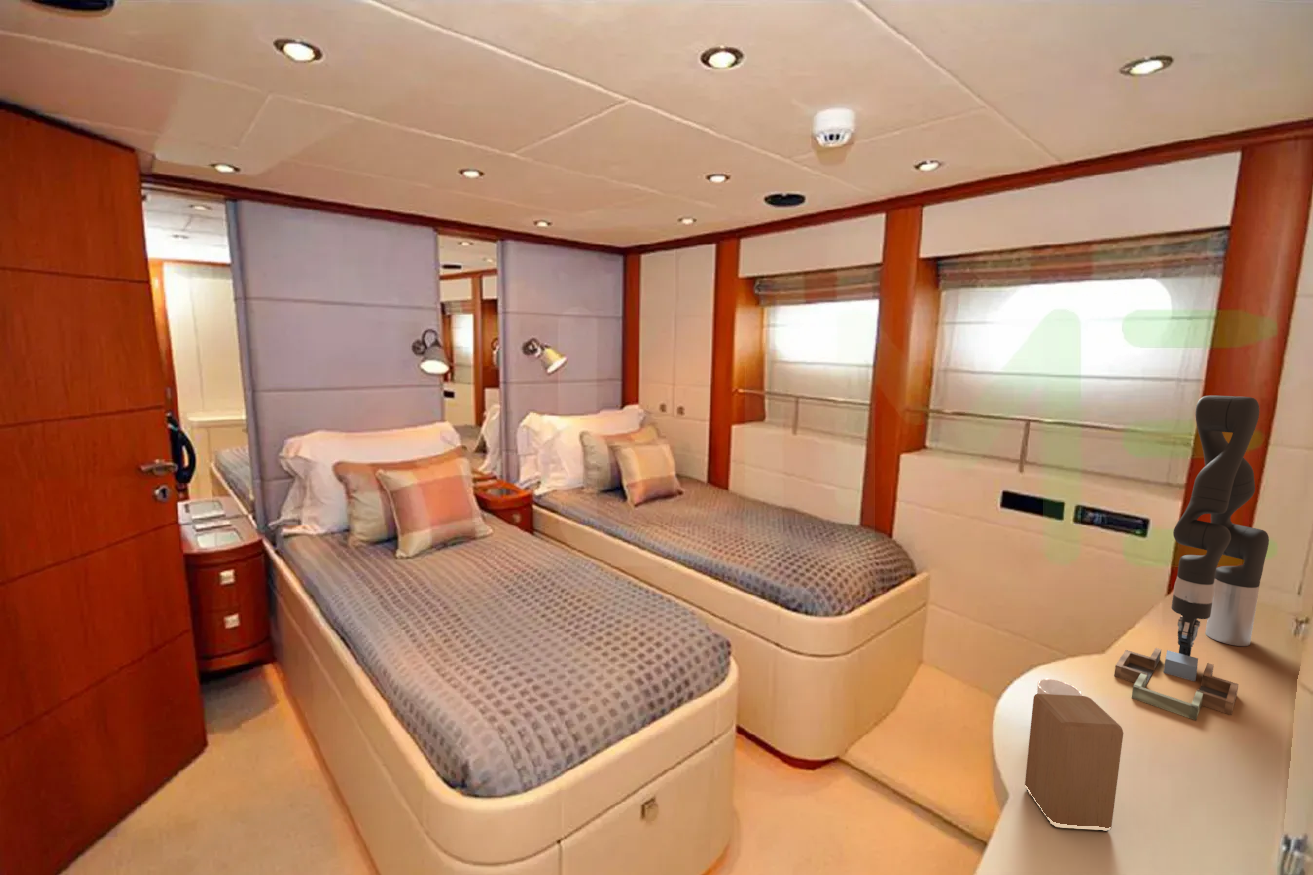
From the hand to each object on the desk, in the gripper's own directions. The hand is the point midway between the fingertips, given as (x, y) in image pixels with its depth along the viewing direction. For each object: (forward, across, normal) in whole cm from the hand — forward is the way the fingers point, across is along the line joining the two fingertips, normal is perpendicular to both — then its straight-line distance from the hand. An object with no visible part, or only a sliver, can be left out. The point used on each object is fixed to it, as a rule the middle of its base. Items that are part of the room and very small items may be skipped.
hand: (1183, 658), depth 153 cm
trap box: (+2, +15, 0) cm, 15 cm away
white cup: (+2, +57, -14) cm, 58 cm away
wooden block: (+2, +81, -6) cm, 81 cm away
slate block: (+2, +6, 0) cm, 6 cm away
